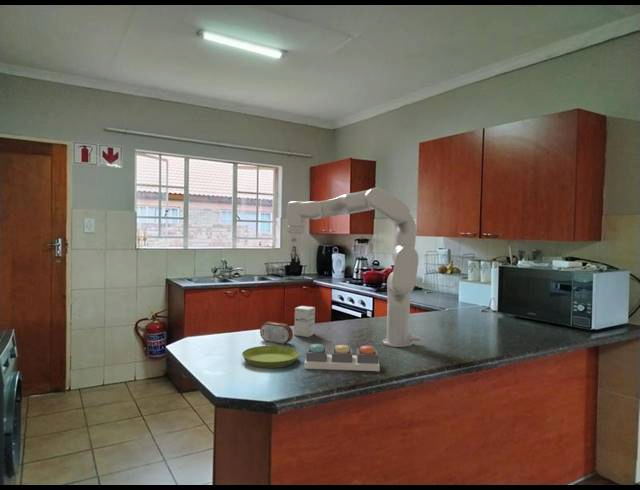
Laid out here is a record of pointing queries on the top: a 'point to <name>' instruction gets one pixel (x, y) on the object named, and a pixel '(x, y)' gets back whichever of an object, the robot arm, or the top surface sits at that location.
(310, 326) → the supplement box
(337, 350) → the ochre button
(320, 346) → the teal button
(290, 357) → the saucer
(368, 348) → the brick button
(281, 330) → the tin
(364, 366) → the button panel
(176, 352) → the top surface
